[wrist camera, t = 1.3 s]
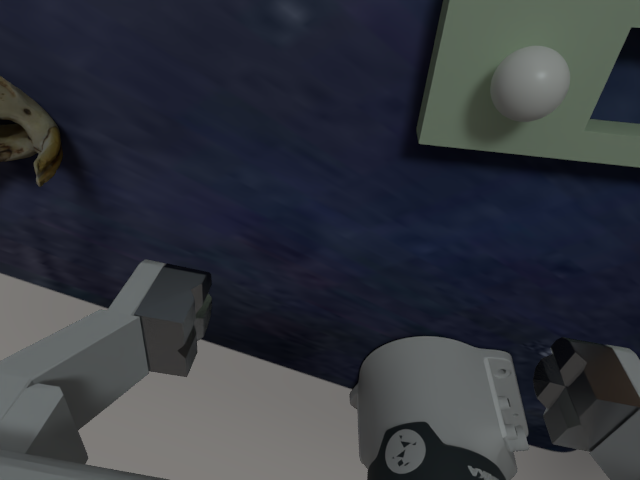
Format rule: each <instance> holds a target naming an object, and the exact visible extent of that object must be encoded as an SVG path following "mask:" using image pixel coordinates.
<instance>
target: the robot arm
mask: <svg viewBox="0 0 640 480" xmlns="http://www.w3.org/2000/svg"><path fill="white" fill-rule="evenodd" d="M211 285H212V279H211V273H209V272H206V271H201V270H196V269H191V268H186V267H182V266H177V265H172V264H165V263H160V262H156V261H151V260H144V261H143V262H141V263H140V264H139V265H138V267H137V268H136V269H135V271H134V272H133V274H132V275H131V277H130V278H129V280H128V281H127V282H126V284H125V285H124V287H123V288H122V290H121V291H120V293H119V294H118V295H117V297H116V298H115V300H114V301H113V303H112V304H111V305H110V307H109V308H108V310H98V311H96V312H95V313H92V314H90V315H89V316H87V317H85V318H83V319H81V320H79V321H77V322H75V323H73V324H71V325H69V326H67V327H65V328H63V329H61V330H59V331H57V332H56V333H54V334H52V335H50V336H48V337H46V338H44V339H42V340H40V341H38V342H36V343H35V344H32V345H30V346H28V347H26V348H24V349H22V350H20V351H19V352H17V353H15V354H13V355H11V356H9V357H7V358H5V359H3V360H1V361H0V480H168V479H163V478H157V477H152V476H146V475H141V474H135V473H129V472H123V471H118V470H113V469H107V468H102V467H96V466H91V465H85V463H86V461H87V460H88V456H87V452H86V450H85V447H84V445H83V442H82V440H81V437H80V435H79V432H78V430H79V429H80V428H81V427H83V426H84V425H85V424H87V423H88V422H89V421H90V420H92V419H93V418H94V417H95V416H97V415H98V414H99V413H100V412H101V411H103V410H104V409H105V408H107V407H108V406H109V405H110V404H112V403H113V402H114V401H115V400H116V399H118V398H119V397H120V396H121V395H123V394H124V393H125V392H126V391H128V390H129V389H130V388H131V387H132V386H134V385H135V384H136V383H137V382H139V381H140V380H141V379H143V378H144V377H145V376H146V375H148V374H149V371H151V372H158V373H165V374H171V375H177V376H184V377H187V375H188V373H189V371H190V368H191V366H192V363H193V361H194V359H195V356H196V354H197V341H198V340H200V339H201V338H203V337H204V335H205V332H206V330H207V327H208V323H209V320H210V316H211V309H212V298H211V296H210V295H209V294H208V292H209V290H210V287H211ZM551 350H552V354H551V355H549V356H547V357H544V358H542V359H541V360H540V362H539V363H538V365H537V366H536V368H535V372H534V377H533V383H534V390H535V393H536V396H537V398H538V400H539V401H540V402H541V403H542V404H543V405H544V406H545V407H546V411H545V413H544V415H543V417H544V420H545V423H546V426H547V429H548V432H549V435H550V438H551V441H552V444H555V445H560V446H565V447H570V448H574V449H579V450H584V451H589V452H590V455H591V456H592V457H593V459H594V460H595V461H596V462H597V464H598V465H599V466H600V467H601V469H602V470H603V471H604V472H605V473H606V475H607V476H608V477H609V478H610V480H640V360H639V359H638V357H637V355H636V354H635V353H634V352H633V351H632V350H630V349H628V348H623V347H617V346H611V345H604V344H599V343H594V342H588V341H582V340H577V339H571V338H565V337H561V338H559V339H557V340H556V341H555V342H554V343H553V345H552V346H551ZM350 404H351V405H352V406H353V407H354V408H356V409H357V410H358V432H359V433H358V434H359V456H360V460H361V462H362V463H363V464H364V465H365V466H366V468H367V469H368V479H367V480H511V479H512V478H513V477H514V476H515V474H516V473H517V466H516V461H515V457H514V453H513V452H514V450H516V451H525V450H528V449H529V446H528V443H527V439H526V437H527V435H528V427H527V422H526V418H525V413H524V409H523V405H522V400H521V396H520V391H519V387H518V383H517V378H516V374H515V370H514V365H513V361H512V357H511V355H510V354H509V353H507V352H504V351H499V350H490V349H479V348H476V347H473V346H470V345H467V344H465V343H462V342H459V341H456V340H453V339H448V338H443V337H433V336H419V337H409V338H404V339H400V340H396V341H393V342H390V343H388V344H385V345H383V346H381V347H379V348H378V349H376V350H375V351H373V352H372V353H371V354H370V355H369V356H368V357H367V358H366V359H365V361H364V362H363V364H362V366H361V369H360V375H359V382H358V384H357V385H356V386H355V387H354V388H353V390H352V391H351V393H350Z"/></svg>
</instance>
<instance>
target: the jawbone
mask: <svg viewBox="0 0 640 480" xmlns="http://www.w3.org/2000/svg"><path fill="white" fill-rule="evenodd" d="M0 120H11V121H13V122H15V123H18V124H7V125H0V162H2V161H11V160H18V159H23V158H27V157H31V156H33V155H35V154H36V153H38V154H39V155H38V157H37V159H36V160H35V161H34V170H35V173H36V175H37V176H36V183H37V185H38V186H39V187H41V186H42V185H43V184H44V183H45V182H47V181H48V180H49V179H51V178H52V177H53V176H54V174H55V173H56V170H57V169H58V168H59V166H60V163H61V161H62V157H63V151H62V146H61V140H60V130H59V128H58V126H57V125H56V123H55V122H54V120H53V119H52V118H51V117H50V115H49V114H48V113H47V112H46V111H45V110H44V109H43V108H42V107H41V106H40V105H39V104H37V103H36V102H35V101H34V100H33V99H31V98H30V97H29V96H28V95H26V94H25V93H24V92H23V91H21V90H20V89H18V88H17V87H15V86H14V85H12V84H11V83H10V82H8V81H7V80H5V79H4V78H3V77H1V76H0Z"/></svg>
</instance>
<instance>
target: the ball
mask: <svg viewBox="0 0 640 480" xmlns="http://www.w3.org/2000/svg"><path fill="white" fill-rule="evenodd" d="M569 85H570V71H569V67H568V65H567V63H566V61H565V59H564V58H563V57H562V56H561V55H560V54H559V53H558V52H557V51H555V50H553V49H551V48H548V47H545V46H528V47H524V48H521V49H518V50H516V51H514V52H513V53H511V54H510V55H508V56H507V57H506V58H505V59H504V60H503V61H502V62H501V63H500V64H499V66H498V67H497V69H496V70H495V72H494V74H493V77H492V80H491V86H490V94H491V99H492V101H493V104H494V106H495V107H496V109H497V110H498V111H499V112H500V113H501V114H502V115H503V116H505V117H507V118H509V119H511V120H514V121H519V122H530V121H535V120H538V119H541V118H543V117H545V116H547V115H549V114H550V113H552V112H553V111H554V110H555V109H556V108H557V107H558V106H559V105H560V104H561V103H562V101H563V100H564V98H565V96H566V94H567V92H568V89H569Z"/></svg>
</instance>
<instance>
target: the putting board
mask: <svg viewBox="0 0 640 480" xmlns="http://www.w3.org/2000/svg"><path fill="white" fill-rule="evenodd" d="M631 27H635V28H640V0H443V4H442V8H441V13H440V18H439V23H438V28H437V32H436V37H435V42H434V47H433V52H432V56H431V61H430V66H429V71H428V76H427V81H426V85H425V90H424V95H423V100H422V105H421V109H420V114H419V119H418V124H417V129H416V131H417V137H418V143H419V144H425V145H434V146H444V147H453V148H462V149H472V150H481V151H490V152H500V153H509V154H519V155H528V156H537V157H547V158H556V159H565V160H575V161H584V162H593V163H603V164H612V165H621V166H631V167H640V124H633V123H624V122H614V121H604V120H594V119H590V116H591V114H592V112H593V110H594V108H595V106H596V103H597V101H598V99H599V97H600V95H601V92H602V90H603V88H604V86H605V84H606V81H607V79H608V77H609V75H610V73H611V71H612V68H613V66H614V64H615V62H616V60H617V57H618V55H619V53H620V51H621V49H622V47H623V44H624V42H625V40H626V38H627V36H628V33H629V31H630V29H631ZM528 46H545V47H548V48H551V49H553V50H555V51H557V52H558V53H559V54H560V55H561V56H562V57H563V58H564V59H565V61H566V63H567V65H568V67H569V71H570V85H569V89H568V92H567V94H566V96H565V98H564V100H563V101H562V103H561V104H560V105H559V106H558V107H557V108H556V109H555V110H554V111H553V112H552V113H550V114H549V115H547V116H545V117H543V118H541V119H538V120H535V121H530V122H519V121H514V120H511V119H509V118H507V117H505V116H503V115H502V114H501V113H500V112H499V111H498V110H497V109H496V107H495V106H494V104H493V101H492V99H491V94H490V86H491V80H492V77H493V74H494V72H495V70H496V69H497V67H498V66H499V64H500V63H501V62H502V61H503V60H504V59H505V58H506V57H507V56H508V55H510V54H511V53H513V52H514V51H516V50H518V49H521V48H524V47H528Z"/></svg>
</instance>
